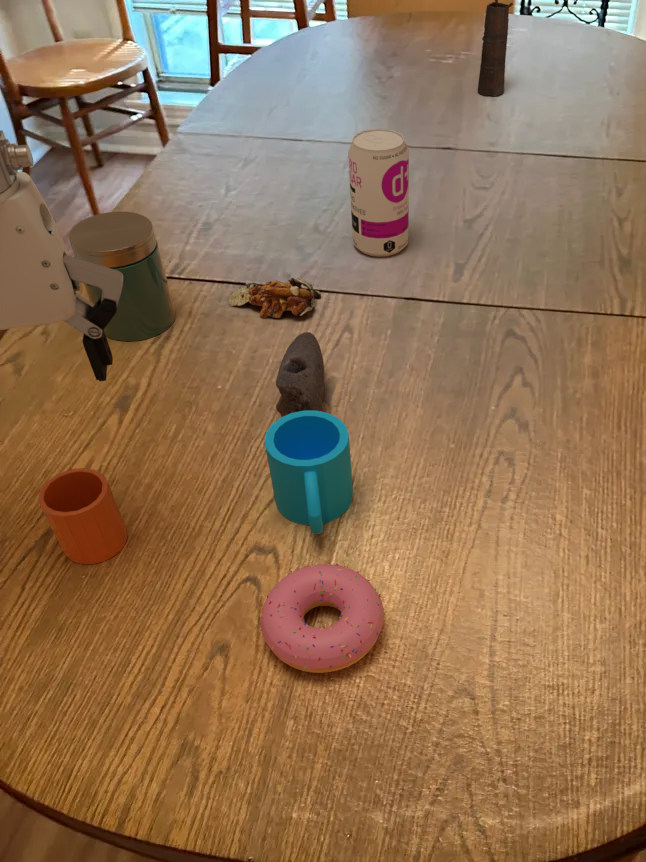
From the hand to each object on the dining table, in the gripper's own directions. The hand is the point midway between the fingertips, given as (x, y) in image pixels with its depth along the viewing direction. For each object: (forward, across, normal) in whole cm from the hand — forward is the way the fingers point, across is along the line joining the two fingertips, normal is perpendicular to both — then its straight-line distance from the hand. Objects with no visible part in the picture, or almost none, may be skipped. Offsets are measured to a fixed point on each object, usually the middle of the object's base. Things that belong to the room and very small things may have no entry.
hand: (43, 379), depth 65 cm
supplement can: (+19, -38, -50) cm, 65 cm away
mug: (+19, -21, +2) cm, 28 cm away
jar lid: (+7, -2, -38) cm, 38 cm away
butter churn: (+19, -72, -104) cm, 128 cm away
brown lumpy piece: (+19, -20, -37) cm, 46 cm away
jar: (+18, -2, -38) cm, 42 cm away
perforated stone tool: (+19, -22, -16) cm, 33 cm away
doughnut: (+19, -20, +17) cm, 32 cm away
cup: (+19, +1, +1) cm, 19 cm away
